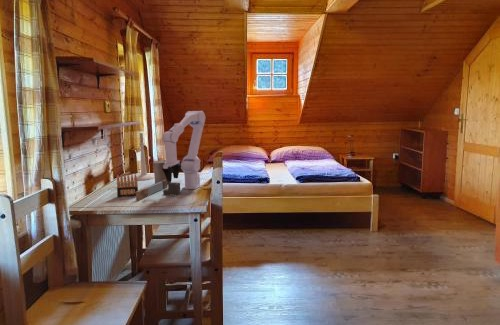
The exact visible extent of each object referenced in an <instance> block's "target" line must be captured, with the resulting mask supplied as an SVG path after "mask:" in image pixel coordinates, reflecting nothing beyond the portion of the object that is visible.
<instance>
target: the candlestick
mask: <svg viewBox="0 0 500 325" xmlns="http://www.w3.org/2000/svg"><path fill="white" fill-rule="evenodd" d="M145 144H146V143H145V142H144V134H143V132H140V133H139V147H140V174H138V175H136V177H137V182H138V181H149V180H150V179H151V180H154V179H155V177H154V175H152V174H148V172H147V164H146V156H145V148H144V147H145ZM153 178H154V179H153Z"/></svg>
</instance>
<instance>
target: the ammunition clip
mask: <svg viewBox="0 0 500 325" xmlns="http://www.w3.org/2000/svg"><path fill="white" fill-rule="evenodd" d="M136 176H137V174H136V173H134V176H133V174H132V173H131V174H130V175H129V174H127V176H126V174H124V175H123V174H120V175H119V174H117V175H116V194H117V195H116V197H117V198H127V197H128V198H130V197H136V191H139V185H138V184H139V183H138V180H137V177H136Z"/></svg>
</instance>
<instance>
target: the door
mask: <svg viewBox="0 0 500 325" xmlns="http://www.w3.org/2000/svg"><path fill="white" fill-rule="evenodd" d="M146 188H148V196H150V195H152V194H154V193H157V192H158V191H161V190H164V189H163V182H159V183H156V184H155V183H154V184H152V185H149V186H147V187H146Z"/></svg>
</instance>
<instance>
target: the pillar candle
mask: <svg viewBox="0 0 500 325" xmlns="http://www.w3.org/2000/svg"><path fill="white" fill-rule="evenodd" d="M165 162H166V159H161V160H154V161H153V162H152V163H153V174H154V175H153V176H154V184H156V183H159V182H161V180H167V179H166V176H165V174H164V172H163V170H162V168H163V165H164V163H165ZM169 183H172V180H171V181H167V185H168V184H169Z"/></svg>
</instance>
